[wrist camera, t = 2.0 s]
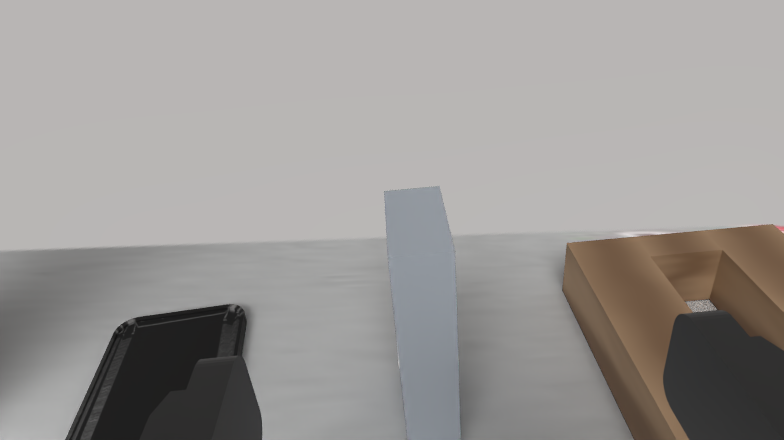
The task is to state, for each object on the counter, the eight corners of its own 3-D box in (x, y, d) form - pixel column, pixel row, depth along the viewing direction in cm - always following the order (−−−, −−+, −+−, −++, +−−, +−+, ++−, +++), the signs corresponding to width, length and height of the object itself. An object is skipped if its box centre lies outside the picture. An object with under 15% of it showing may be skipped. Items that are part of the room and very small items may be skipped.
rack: (691, 558, 21) (711, 502, 19) (562, 290, 34) (566, 243, 33) (1017, 531, 21) (1069, 472, 19) (757, 272, 34) (772, 224, 32)
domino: (407, 453, 26) (386, 257, 20) (402, 371, 30) (383, 191, 24) (462, 448, 25) (456, 251, 20) (448, 367, 30) (440, 185, 24)
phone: (245, 301, 35) (205, 539, 22) (249, 315, 35) (212, 555, 23) (117, 320, 34) (0, 573, 22) (123, 333, 35) (13, 588, 22)
